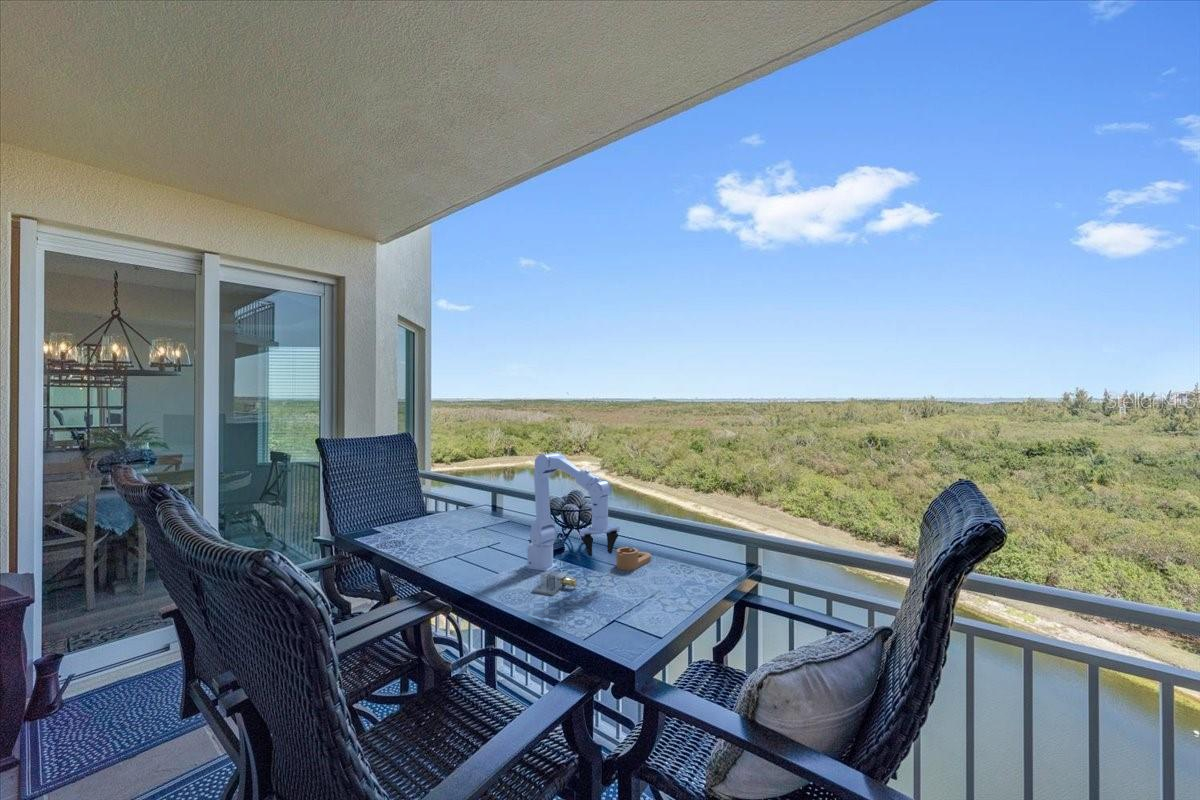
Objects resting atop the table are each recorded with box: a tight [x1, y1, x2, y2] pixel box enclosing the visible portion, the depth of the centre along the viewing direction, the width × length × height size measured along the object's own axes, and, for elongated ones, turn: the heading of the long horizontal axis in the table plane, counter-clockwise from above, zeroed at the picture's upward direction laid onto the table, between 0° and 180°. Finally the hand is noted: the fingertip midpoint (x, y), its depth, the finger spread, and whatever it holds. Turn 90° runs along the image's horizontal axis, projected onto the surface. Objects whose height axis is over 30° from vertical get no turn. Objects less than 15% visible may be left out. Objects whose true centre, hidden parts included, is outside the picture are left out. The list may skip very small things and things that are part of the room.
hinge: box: [531, 570, 575, 597], centre depth 165 cm, size 8×16×4 cm, turn 159°
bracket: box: [616, 546, 652, 571], centre depth 187 cm, size 18×8×7 cm, turn 144°
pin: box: [562, 578, 578, 588], centre depth 164 cm, size 9×2×2 cm, turn 69°
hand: (599, 554), depth 167 cm, fingers open, 7 cm apart
